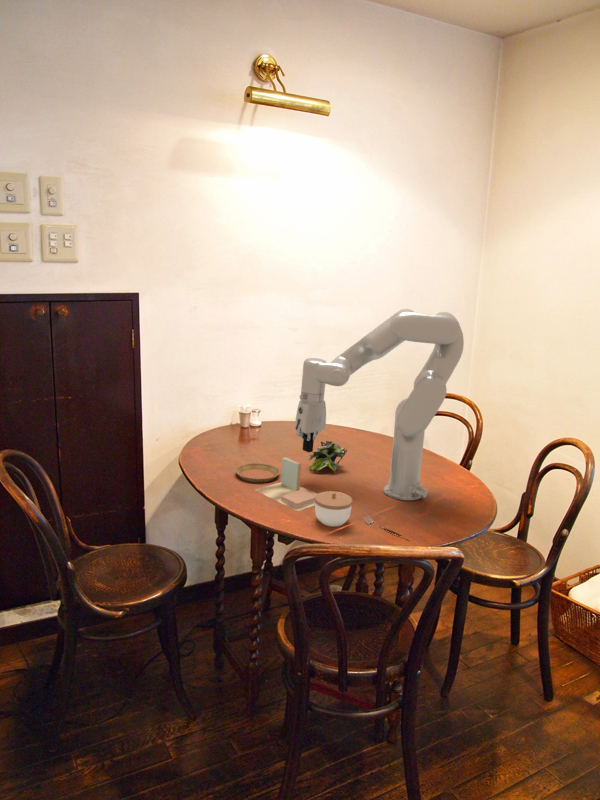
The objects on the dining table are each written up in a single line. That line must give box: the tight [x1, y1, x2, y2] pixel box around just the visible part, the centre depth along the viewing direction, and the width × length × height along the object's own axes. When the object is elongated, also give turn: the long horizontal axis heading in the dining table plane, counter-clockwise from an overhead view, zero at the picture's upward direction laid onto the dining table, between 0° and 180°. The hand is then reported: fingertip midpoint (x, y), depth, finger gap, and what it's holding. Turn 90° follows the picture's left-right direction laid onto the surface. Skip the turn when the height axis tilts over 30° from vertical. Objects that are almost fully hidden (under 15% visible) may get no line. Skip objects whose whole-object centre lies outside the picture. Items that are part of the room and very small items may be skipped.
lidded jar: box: [314, 490, 354, 528], centre depth 176 cm, size 11×11×9 cm
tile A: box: [281, 489, 316, 508], centre depth 190 cm, size 7×2×9 cm
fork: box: [362, 514, 402, 537], centre depth 175 cm, size 3×16×2 cm, turn 44°
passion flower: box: [308, 440, 348, 475], centre depth 217 cm, size 13×12×14 cm
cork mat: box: [254, 481, 318, 512], centre depth 195 cm, size 20×14×1 cm
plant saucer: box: [235, 462, 281, 483], centre depth 209 cm, size 15×15×3 cm
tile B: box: [280, 456, 302, 491], centre depth 200 cm, size 7×2×9 cm, turn 44°
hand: (307, 450), depth 204 cm, fingers closed
